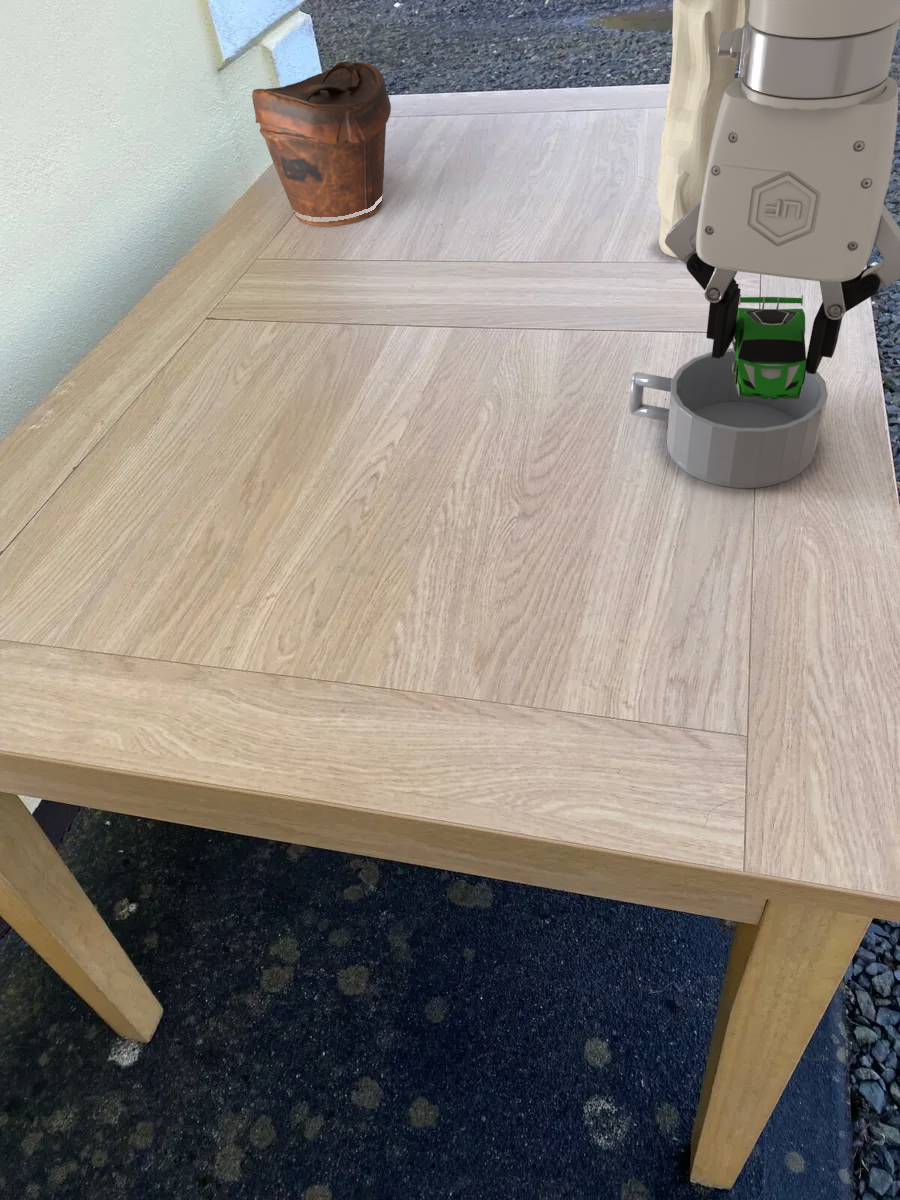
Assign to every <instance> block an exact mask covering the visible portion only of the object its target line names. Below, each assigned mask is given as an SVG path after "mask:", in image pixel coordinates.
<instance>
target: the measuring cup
mask: <svg viewBox="0 0 900 1200" xmlns="http://www.w3.org/2000/svg"><path fill="white" fill-rule="evenodd" d="M733 358H734V361H735V359H736V352H735V354H734V350H733V347H732V348H728V349H727V351H726V353H725V355H724V357H720V359H718V358H712V351H710V352H707V353H704V354H701V355H699V356H696V357H694V358H692V359H690V360H688V361H687V362H686V363H685V364H683V365H682V366H680V367H679V368H678V369H677V371H676V372H675V374H674V375H673V377H668V376H661V375H655V374H651V373H645V372H639V371H636V372H633V373H632V374H631V376H630V387H629V388H630V391H629V413H630V415H632V416H635V417H640V418H646V419H651V420H656V421H659V422H660V421H661V422H666V423H667V432H666V447H667V451H668V455H669V456H670V458H671V459H672V460H673V462H674V463H675V464H676V465H677V466H678V467H679V468H680V469H682V470H683V471H684V472H686V473H687V474H688V475H690V476H692V477H694V478H696V479H698V480H700V481H703V482H706V483H709V484H712V485H715V486H721V487H727V488H735V489H758V488H759V489H760V488H764V487H765V488H766V487H771V486H775V485H778V484H782V483H785V482H787V481H789V480H792V479H793V478H795V477H796V476H798V475H800V474H801V473H802V472H803V471H805V470H806V468H808V466H809V465H810V464H811V462H812V460H813V458H814V455H815V452H816V449H817V446H818V442H819V437H820V432H821V428H822V423H823V419H824V415H825V409H826V405H827V400H828V389H827V383H826V381H825V379H824V378H823V376H821V374H820V372H819V371H818V370H817V371H816V373H815V374H809V373H807V371H806V372H805V379H804V384H803V388H802V392H801V395H800V399H783V398H778V399H775V400H774V399H772V400H771V398H767V400H766V399H762V398H759V397H755V398H746V397H739V395H738V392H737V389H736V387H735V384H736V383H735V374H732V369H733ZM734 364H736V363H735V362H734ZM801 387H802V386H801ZM644 388H647V389H653V390H659V391H663V392H669V403H668V404H669V405H668V408H667V407H661V406H657V405H651V404H647V403H644ZM774 398H775V397H774Z"/></svg>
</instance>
